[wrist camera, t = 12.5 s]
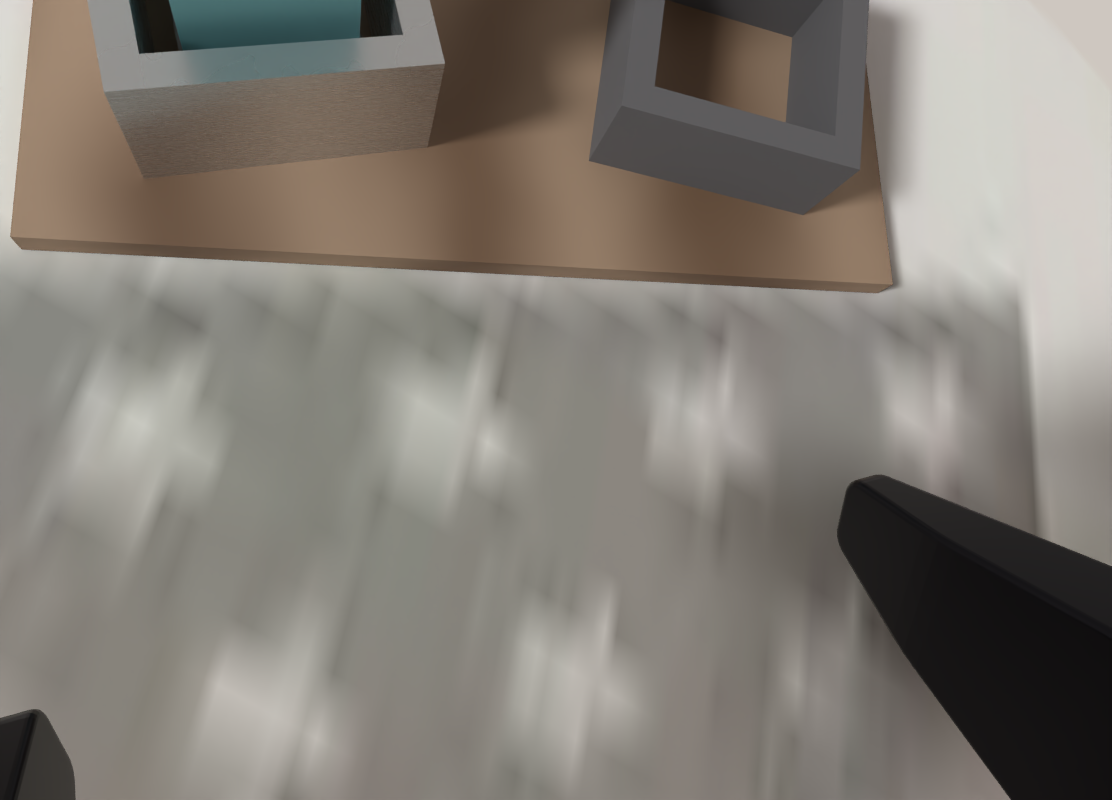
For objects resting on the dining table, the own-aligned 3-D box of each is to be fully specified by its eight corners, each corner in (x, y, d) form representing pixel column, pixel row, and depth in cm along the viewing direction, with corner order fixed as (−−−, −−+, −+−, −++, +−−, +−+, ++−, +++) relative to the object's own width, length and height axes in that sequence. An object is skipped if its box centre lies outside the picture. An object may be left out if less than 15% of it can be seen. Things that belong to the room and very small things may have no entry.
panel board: (838, -42, 30) (851, -58, 29) (877, 293, 27) (892, 284, 26) (60, -164, 24) (51, -189, 23) (21, 249, 21) (10, 236, 21)
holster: (802, 215, 26) (860, 169, 23) (588, 160, 25) (621, 105, 22) (816, 22, 28) (871, -42, 25) (615, -39, 26) (649, -114, 24)
